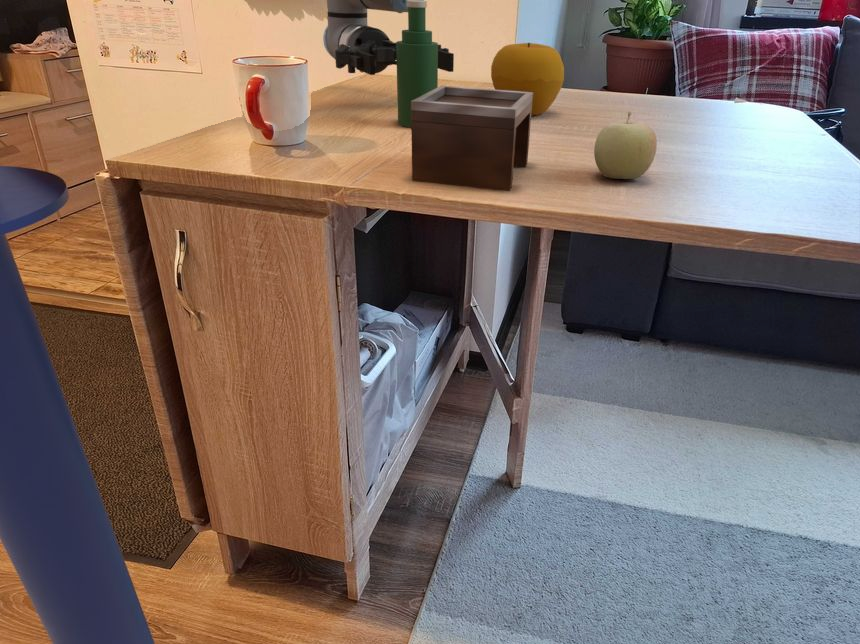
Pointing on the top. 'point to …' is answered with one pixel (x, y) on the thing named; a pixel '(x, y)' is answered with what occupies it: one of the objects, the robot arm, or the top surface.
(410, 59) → the bottle
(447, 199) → the top surface
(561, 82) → the apple
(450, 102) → the brown wooden box
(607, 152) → the fruit
